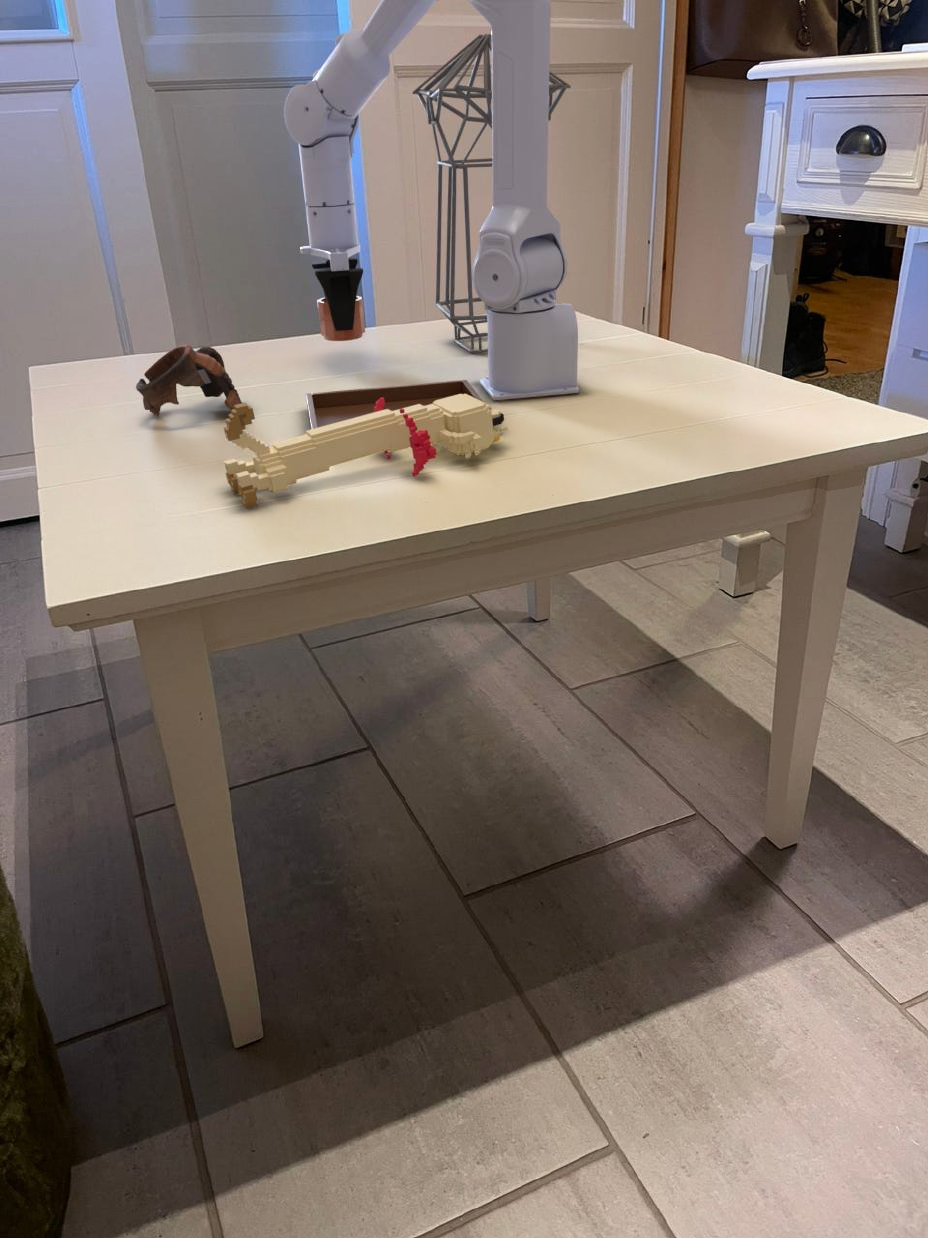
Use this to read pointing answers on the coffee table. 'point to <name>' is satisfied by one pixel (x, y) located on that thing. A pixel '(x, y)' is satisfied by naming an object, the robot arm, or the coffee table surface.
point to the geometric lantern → (464, 166)
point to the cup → (328, 327)
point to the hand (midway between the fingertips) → (342, 324)
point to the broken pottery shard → (186, 377)
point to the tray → (362, 401)
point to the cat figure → (359, 441)
